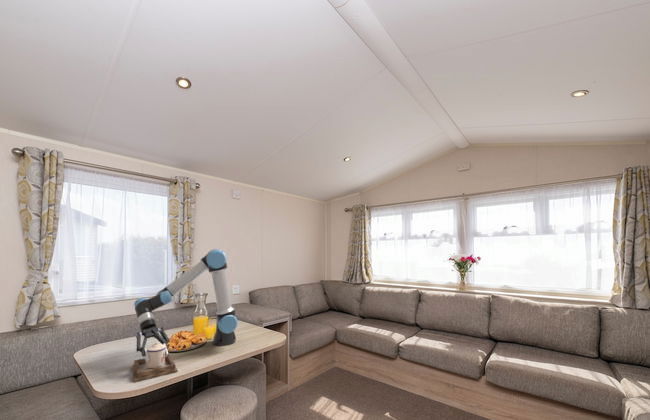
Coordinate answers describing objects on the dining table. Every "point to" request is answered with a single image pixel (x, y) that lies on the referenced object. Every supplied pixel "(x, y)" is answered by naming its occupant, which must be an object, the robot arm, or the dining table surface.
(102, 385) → the dining table surface
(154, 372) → the wooden serving tray
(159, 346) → the teacup with lid
